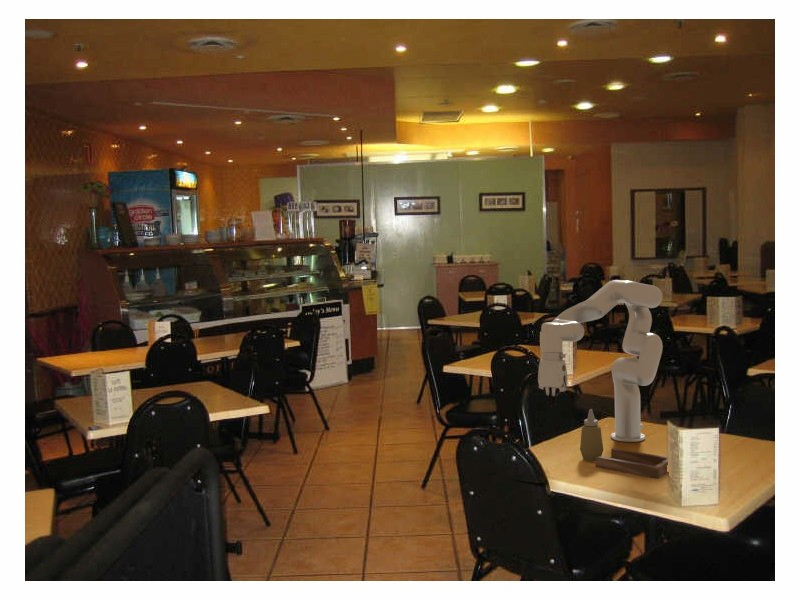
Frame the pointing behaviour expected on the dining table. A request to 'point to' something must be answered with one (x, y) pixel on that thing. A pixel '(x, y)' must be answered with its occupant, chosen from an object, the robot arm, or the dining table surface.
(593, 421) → the squeeze bottle
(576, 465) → the dining table surface
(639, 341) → the robot arm
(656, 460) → the brown wooden tray
